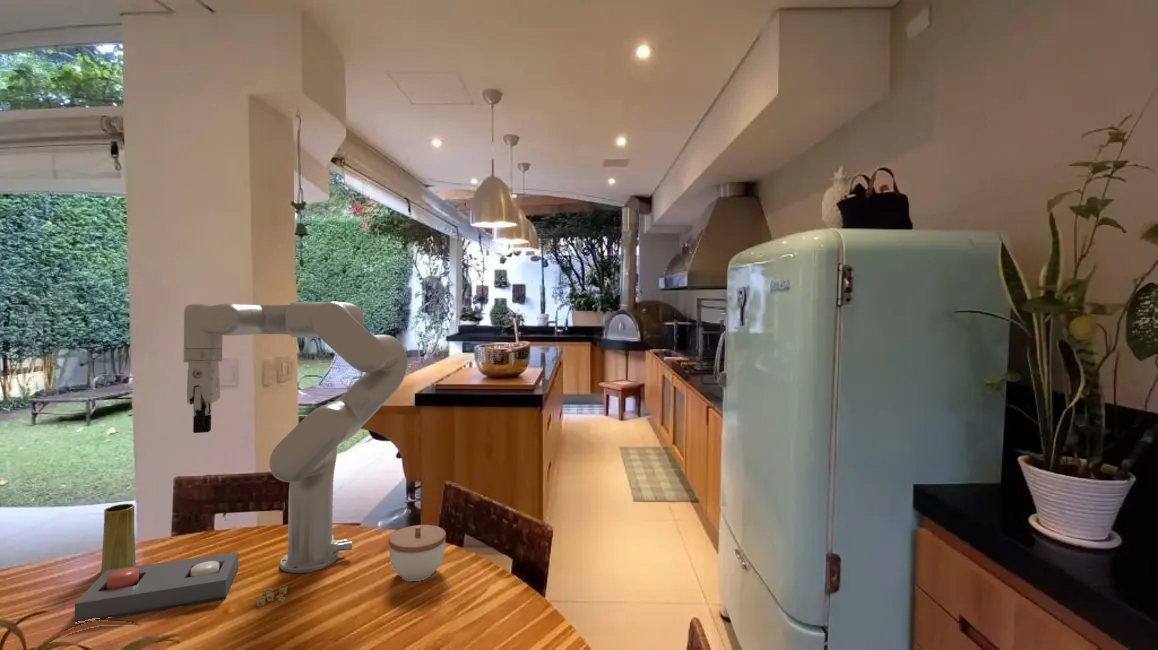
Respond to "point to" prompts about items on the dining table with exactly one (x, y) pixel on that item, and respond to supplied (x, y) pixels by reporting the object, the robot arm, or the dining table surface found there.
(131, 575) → the red button
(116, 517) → the vase
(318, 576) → the dining table surface
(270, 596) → the dice set
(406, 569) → the lidded bowl
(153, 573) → the button panel
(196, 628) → the dining table surface
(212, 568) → the ivory button
